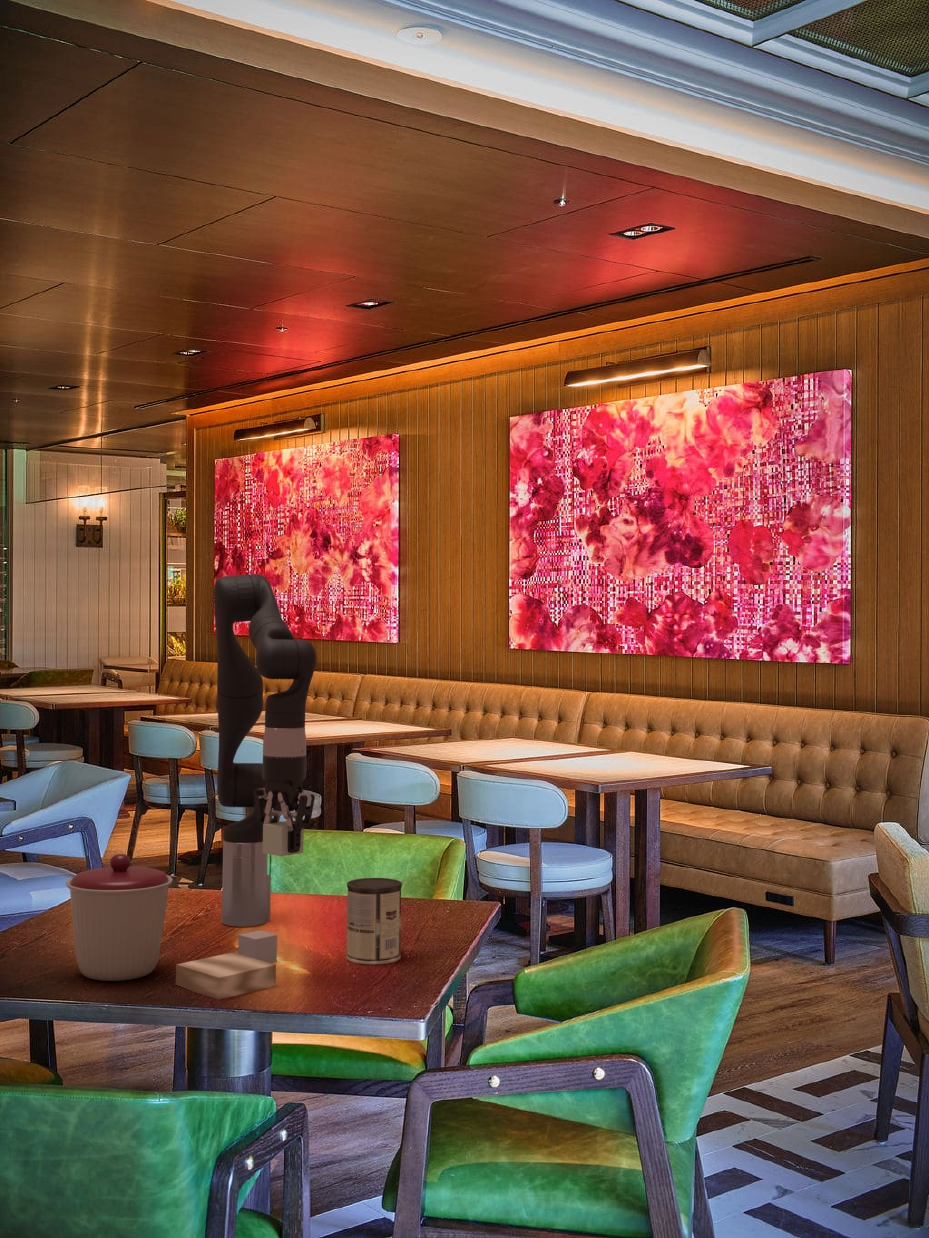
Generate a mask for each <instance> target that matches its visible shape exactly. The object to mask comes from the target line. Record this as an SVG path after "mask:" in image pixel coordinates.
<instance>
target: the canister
mask: <svg viewBox="0 0 929 1238" xmlns="http://www.w3.org/2000/svg"><path fill="white" fill-rule="evenodd" d="M131 862H132V860H131V857H130V856H129V855H127V854H125V853H117V854H116V853H115V854H114V855H113V856H111V858H110V860H109V865H110V866H107V867H98V868H92V869H87V870H84V871H82V872H79V873H76V875H74V876H73V877H71V878H69V879H68V880H67V881H66V883H65V884H66V887H67V889H69V891H70V892H69V893H70V907H71V917H72V928H73V938H74V939H73V940H74V946H75V957H76V963H77V966H78V969H79V971H80V972H81V974H82V975H83V976H85V977H86V978H88V979H91V980H95V981H103V982H117V981H118V982H120V981H121V982H122V981H123V982H124V981H129V980H135V979H140V978H142V977H146V976H147V975H149V974H151V973H152V972H153V971H154V970H155V968H156V967H157V965H158V961H159V957H160V952H161V946H162V938H163V933H164V924H165V917H166V909H167V901H168V895H169V886H170V885H172V884H173V878H172V877H171V876H170V875H167V874H166V873H165V872H164V871H162V870H159V869H157V868H152V867H146V866H145V867H144V866H131V864H132V863H131Z"/></svg>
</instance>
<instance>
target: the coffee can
mask: <svg viewBox="0 0 929 1238" xmlns="http://www.w3.org/2000/svg"><path fill="white" fill-rule="evenodd" d="M402 886H403V883H402V881H400V880H399V879H398V880H397V879H394V878H388V877H387V878H385V877H364V878H355V879H351V880H349V881H347V883H346V887H347V900H346V901H347V904H346V905H347V908H346V909H347V910H346V914H347V915H346V918H347V919H346V921H347V922H346V925H347V926H346V960H347V961H348V962H351V963H352V964H353V963H355V964H359V965H360V964H361V965H371V966H372V965H373V966H374V965H387V964H393V963H396V962H398V961H400V960H401V958H402V957H401V936H402V935H401V932H402V931H401V928H402V927H401V923H402V888H403V887H402Z"/></svg>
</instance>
